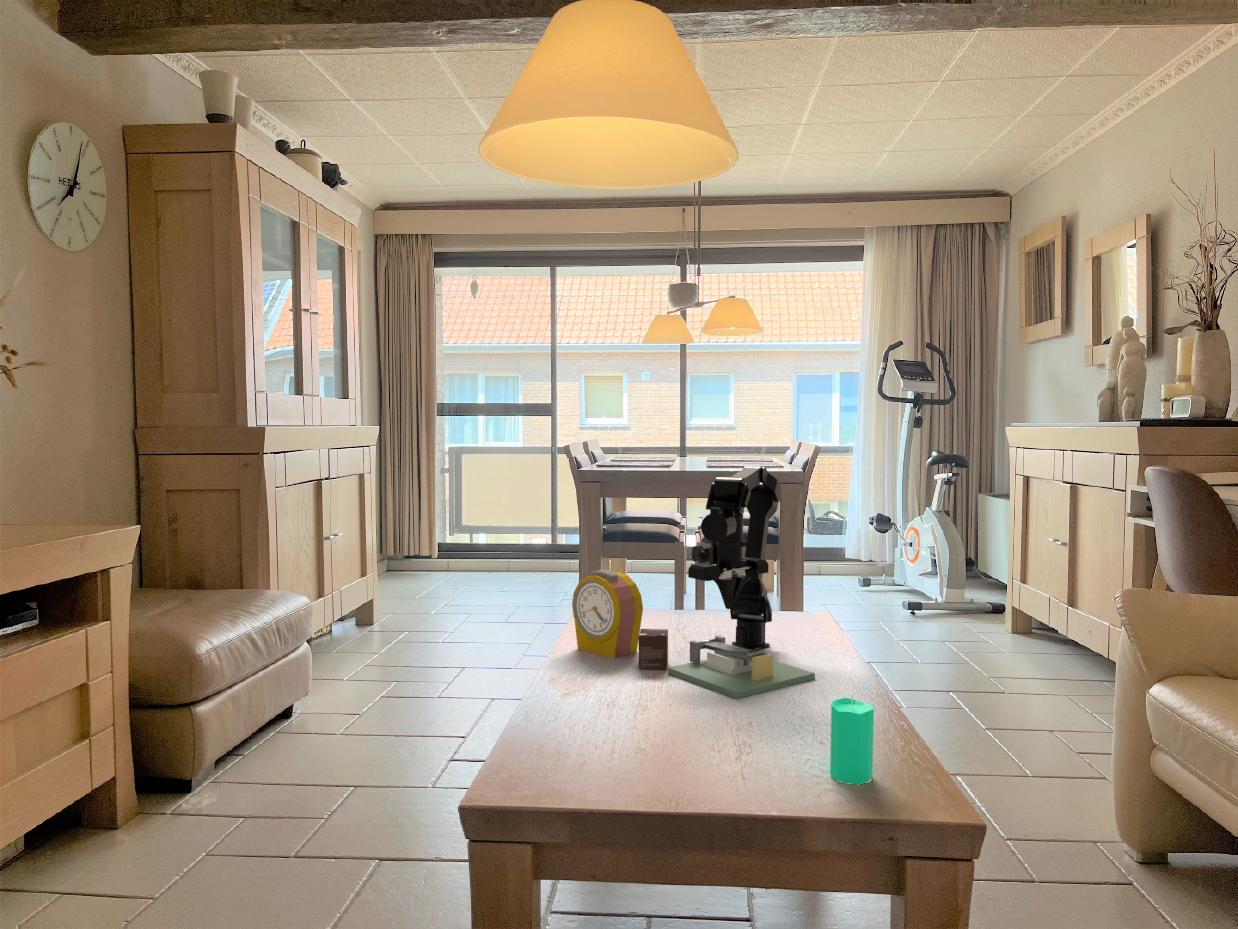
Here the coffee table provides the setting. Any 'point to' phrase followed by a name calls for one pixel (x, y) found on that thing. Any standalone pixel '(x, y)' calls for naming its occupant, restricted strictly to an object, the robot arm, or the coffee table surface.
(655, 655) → the box
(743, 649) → the grey hinged lever
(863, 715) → the candle
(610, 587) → the alarm clock
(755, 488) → the robot arm
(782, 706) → the coffee table surface
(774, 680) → the board
